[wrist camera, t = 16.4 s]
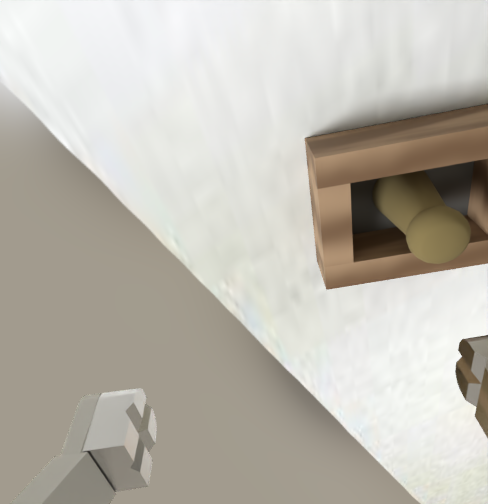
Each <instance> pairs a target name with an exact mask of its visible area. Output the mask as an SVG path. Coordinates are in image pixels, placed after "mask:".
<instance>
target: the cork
mask: <svg viewBox="0 0 488 504" xmlns="http://www.w3.org/2000/svg"><path fill="white" fill-rule="evenodd" d="M372 199H373V202H374V204H375V207H376V208H377V209H378V210H379V211H380V212H381V213H382V214H384V215H385V216H386V217H387V218H388V219H389V220H390V221H391V222H392V223H393V224H394V225H396V226H397V227H398V228H399V229H400V230H401V231H402V232H403V233H404V234H405V235H406V241H407V244H408V247H409V249H410V251H411V252H412V253H413V254H414V255H415V256H416V257H417V258H418V259H420V260H422V261H424V262H426V263H433V264H441V263H446V262H449V261H451V260H454V259H455V258H456V257H458V256H459V255H461V254H462V253H463V251H464V250H465V249H466V248H467V246H468V244H469V241H470V235H471V230H470V226H469V223H468V221H467V219H466V218H465V217H464V216H463V215H462V214H461V213H460V212H459V211H457V210H455V209H453V208H450V207H448V206H446V204H445V203H444V201H443V200H442V198H441V196H440V195H439V193H438V191H437V190H436V188H435V187H434V185H433V183H432V182H431V180H430V178H429V177H428V175H427V174H426V173H425V171H424V170H421V171H416V172H410V173H405V174H399V175H394V176H388V177H382V178H379V179H378V180H377V182H376V183H375V185H374V188H373V191H372Z"/></svg>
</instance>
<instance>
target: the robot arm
mask: <svg viewBox="0 0 488 504" xmlns="http://www.w3.org/2000/svg"><path fill="white" fill-rule="evenodd" d="M458 351H459V352H460V354H461V355H462V357H461V358H460V359H459V360H458V361H457V362H456V371H455V372H456V378H457V383H458V385H459V388H460V390H461V392H462V394H463V396H464V398H465V400H466V401H468V402H470V403H471V404H473V405H474V406H476V407H477V408H476V413H475V417H476V419H477V421H478V422H479V424H480V426H481V427H482V429H483V431H484V433H485V434H486V436H487V438H488V335H486V336H480V337H474V338H468V339H462V340H461V342H460V343H459V349H458ZM145 400H146V395H145V393H144V391H143V390H142V389H131V390H123V391H115V392H107V393H100V394H92V395H85V396H83V398H82V399H81V400H80V402H79V404H78V407H77V410H76V413H75V415H74V418H73V421H72V424H71V427H70V430H69V432H68V435H67V438H66V441H65V444H64V446H63V449H62V452H61V455H60V456H55V457H54V458H53V459H52V460H51V461H50V462H49V463H48V464H47V465H46V466H45V467H44V468H43V469H42V470H41V472H39V474H38V475H37V476H36V477H35V478H34V479H33V480H32V481H31V482H30V483H29V484H28V485H27V486H26V487H25V488H24V489H23V490H22V492H21V493H20V494H19V495H18V496H17V497H16V498H15V499H14V500H13V501H12V502H11V503H10V504H110V502H111V501H112V499H113V498H114V496H115V495H116V493H115V492H117V491H124V490H130V489H136V488H142V487H148V485H149V479H150V473H151V467H152V458H151V457H150V455H149V453H148V452H149V451H150V449H151V448H152V447H153V445H154V444H155V440H156V433H157V431H156V418H155V415H154V412H153V410H152V407H150V406H148V405H147V404H145Z"/></svg>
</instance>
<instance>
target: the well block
mask: <svg viewBox="0 0 488 504" xmlns="http://www.w3.org/2000/svg"><path fill="white" fill-rule="evenodd" d="M305 145H306V155H307V165H308V175H309V185H310V195H311V205H312V215H313V225H314V235H315V245H316V255H317V262H318V265H319V268H320V271H321V274H322V277H323V280H324V283H325V286H326V289H333V288H340V287H346V286H352V285H358V284H364V283H370V282H376V281H382V280H389V279H395V278H401V277H407V276H413V275H419V274H425V273H431V272H438V271H444V270H450V269H456V268H462V267H468V266H474V265H480V264H487V263H488V104H485V105H479V106H474V107H469V108H464V109H458V110H453V111H448V112H442V113H437V114H432V115H426V116H421V117H416V118H410V119H405V120H400V121H394V122H389V123H384V124H379V125H373V126H368V127H363V128H357V129H352V130H347V131H341V132H336V133H331V134H325V135H320V136H315V137H309V138H305ZM421 170H424V171H425V173H426V174H427V175H428V177H429V178H430V180H431V182H432V183H433V185H434V187H435V188H436V190H437V191H438V193H439V195H440V196H441V198H442V200H443V201H444V203H445V204H446V206H448V207H450V208H453V209H455V210H457V211H459V212H460V213H461V214H462V215H463V216H464V217H465V218H466V219H467V221H468V223H469V226H470V230H471V235H470V241H469V244H468V246H467V248H466V249H465V250H464V251H463V253H462V254H461V255H459V256H458V257H456V258H455V259H454V260H451V261H449V262H446V263H441V264H433V263H426V262H424V261H422V260H420V259H418V258H417V257H416V256H415V255H414V254H413V253H412V252H411V251H410V249H409V247H408V244H407V241H406V235H405V234H404V233H403V232H402V231H401V230H400V229H399V228H398V227H397V226H396V225H394V224H393V223H392V222H391V221H390V220H389V219H388V218H387V217H386V216H385V215H384V214H382V213H381V212H380V211H379V210H378V209H377V208H376V207H375V204H374V202H373V199H372V191H373V188H374V185H375V183H376V182H377V180H378V179H379V178H382V177H388V176H394V175H399V174H405V173H410V172H416V171H421Z"/></svg>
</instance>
